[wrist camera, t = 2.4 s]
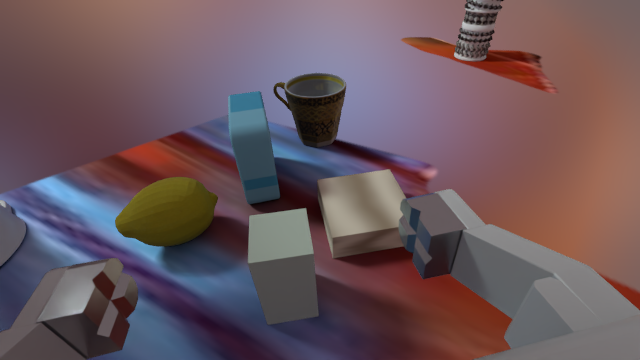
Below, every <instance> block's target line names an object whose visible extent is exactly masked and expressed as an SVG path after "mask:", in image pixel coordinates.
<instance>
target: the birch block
mask: <svg viewBox="0 0 640 360" xmlns="http://www.w3.org/2000/svg"><path fill="white" fill-rule="evenodd" d="M317 187H318V201H319V205H320V209H321V213H322V217H323V221H324V225H325V229H326V233H327V237H328V241H329V245H330V249H331V253H332V257H333V258H338V257H344V256H350V255H356V254H361V253H367V252H373V251H379V250H385V249H391V248H396V247H402V246H404V245H403V243H402V241H401V238H400V234H399V228H398V227H399V219H400V218H401V217H402V216H403V213H402V212H401V210H400V205H401V201H402V200H403V199H406V197H405V195H404V193H403V192H402V190H401V188H400V187H399V185H398V183H397V182H396V180H395V178H394V176H393V175H392V173H391V171H390V170H382V171H375V172H368V173H361V174H354V175H347V176H340V177H333V178H326V179H319V180H317Z"/></svg>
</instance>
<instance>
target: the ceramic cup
mask: <svg viewBox="0 0 640 360" xmlns="http://www.w3.org/2000/svg"><path fill="white" fill-rule="evenodd" d="M277 87H281V88H283V89H284V90H285V94H286V97H287V101H288V103H287V102H286V101H285V100H284V99H283V98H282V97H280V96H279V94H278V93H277V90H276V88H277ZM345 90H346V82H345V81H344V80H343V79H342V78H340V77H338V76H335V75H332V74H326V73H311V74H304V75H300V76H297V77H294V78H292V79H290V80H289V81H288V82H286V83H282V82H280V83H277V84H276V85H275V86H274V93H275V95H276V97H277V98H278V99H279V100H280V101H282V102H283V103H284V104H285V105H286V106H287V107H288V109H289V110H290V111H292V115H293V118H294V121H295V124H296V128H297V132H298V135H299V138H300V139H301V141H302V142H303V144H304V145H308V146H313V147H322V146H326V145H330V144H332V142H333V141H334V140H335V138H336V136H337V132H338V125H339V121H340V116H341V110H342V106H343V102H344V97H345Z"/></svg>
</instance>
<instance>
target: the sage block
mask: <svg viewBox="0 0 640 360" xmlns="http://www.w3.org/2000/svg"><path fill="white" fill-rule="evenodd" d="M248 266H249V269H250V272H251V275H252V278H253V281H254V284H255V287H256V291H257V294H258V297H259V300H260V303H261V306H262V309H263V312H264V315H265V319H266V322H267V325H271V324H277V323H283V322H288V321H294V320H300V319H306V318H312V317H318V316H319V312H318V300H317V288H316V276H315V264H314V253H313V247H312V241H311V235H310V229H309V223H308V217H307V211H306V208H303V209H296V210H289V211H281V212H274V213H267V214H259V215H252V216H250V217H249V244H248Z"/></svg>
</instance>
